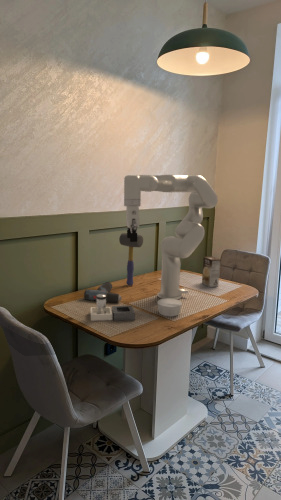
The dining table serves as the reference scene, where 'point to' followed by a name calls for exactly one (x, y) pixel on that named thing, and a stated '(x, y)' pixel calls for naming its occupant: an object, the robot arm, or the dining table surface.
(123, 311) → the block
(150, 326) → the dining table surface
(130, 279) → the rubber mallet
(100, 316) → the tray
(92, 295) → the power drill
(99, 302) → the shiny metal canister
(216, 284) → the coffee box
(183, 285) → the dining table surface
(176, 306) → the ramekin
